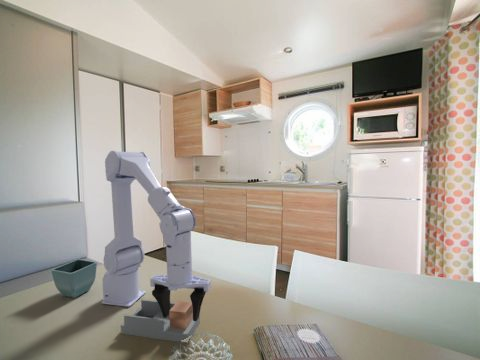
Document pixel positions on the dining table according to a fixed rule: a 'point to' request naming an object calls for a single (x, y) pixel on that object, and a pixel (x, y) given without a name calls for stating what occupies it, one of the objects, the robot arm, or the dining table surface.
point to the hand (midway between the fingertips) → (181, 316)
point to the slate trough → (155, 323)
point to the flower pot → (74, 277)
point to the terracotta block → (181, 315)
